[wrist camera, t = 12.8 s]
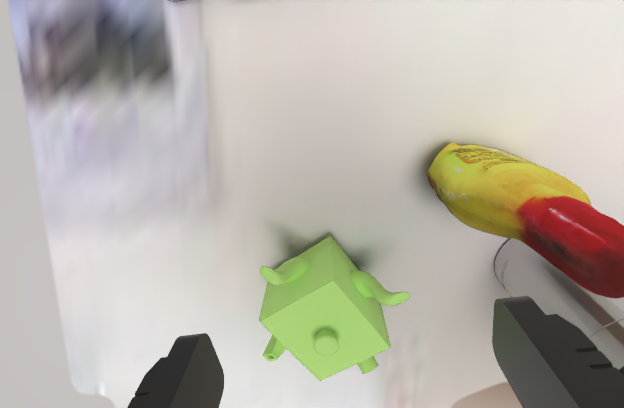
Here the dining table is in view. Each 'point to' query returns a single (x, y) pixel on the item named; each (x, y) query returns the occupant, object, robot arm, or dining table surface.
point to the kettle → (326, 311)
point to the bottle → (532, 212)
